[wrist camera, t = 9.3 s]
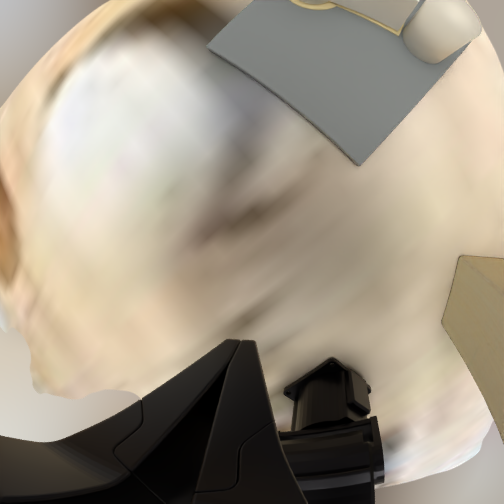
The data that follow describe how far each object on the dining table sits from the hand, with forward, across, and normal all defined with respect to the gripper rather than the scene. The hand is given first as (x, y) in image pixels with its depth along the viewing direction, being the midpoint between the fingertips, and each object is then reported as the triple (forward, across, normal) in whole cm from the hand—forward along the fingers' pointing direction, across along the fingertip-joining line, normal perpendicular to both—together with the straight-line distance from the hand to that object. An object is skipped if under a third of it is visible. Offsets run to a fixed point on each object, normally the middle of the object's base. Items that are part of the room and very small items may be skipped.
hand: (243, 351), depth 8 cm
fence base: (+13, -13, -17) cm, 26 cm away
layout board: (+14, -6, -16) cm, 22 cm away
